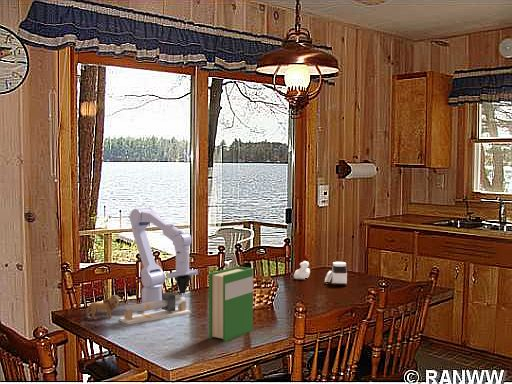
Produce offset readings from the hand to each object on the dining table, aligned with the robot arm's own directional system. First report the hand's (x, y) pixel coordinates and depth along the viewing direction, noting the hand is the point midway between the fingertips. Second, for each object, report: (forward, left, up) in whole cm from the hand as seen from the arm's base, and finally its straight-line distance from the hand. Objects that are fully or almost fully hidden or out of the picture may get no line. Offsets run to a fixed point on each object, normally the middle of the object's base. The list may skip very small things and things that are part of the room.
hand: (182, 293), depth 259 cm
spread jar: (-2, +95, -8) cm, 95 cm away
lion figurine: (-12, -31, -8) cm, 34 cm away
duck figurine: (-23, +91, -8) cm, 94 cm away
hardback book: (+39, -2, -8) cm, 40 cm away
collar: (0, -7, -6) cm, 9 cm away
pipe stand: (0, -13, -8) cm, 15 cm away
